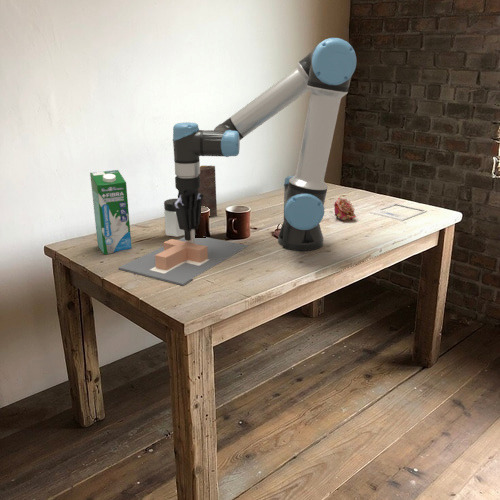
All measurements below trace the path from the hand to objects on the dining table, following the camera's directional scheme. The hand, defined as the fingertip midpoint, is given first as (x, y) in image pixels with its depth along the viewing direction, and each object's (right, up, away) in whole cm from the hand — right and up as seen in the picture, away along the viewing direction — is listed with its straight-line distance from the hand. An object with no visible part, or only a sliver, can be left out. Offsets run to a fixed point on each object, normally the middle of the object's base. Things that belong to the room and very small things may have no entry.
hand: (190, 248), depth 172 cm
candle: (+2, +13, +41) cm, 43 cm away
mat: (-1, -3, -1) cm, 3 cm away
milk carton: (-26, 0, +7) cm, 27 cm away
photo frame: (+78, +14, +46) cm, 92 cm away
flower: (+55, +11, +37) cm, 67 cm away
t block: (-4, -4, -6) cm, 8 cm away
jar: (-7, +5, +21) cm, 23 cm away
